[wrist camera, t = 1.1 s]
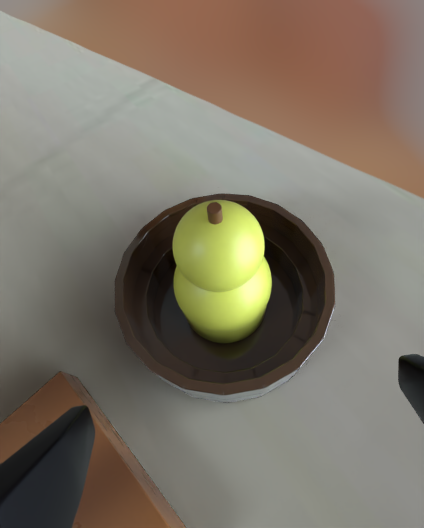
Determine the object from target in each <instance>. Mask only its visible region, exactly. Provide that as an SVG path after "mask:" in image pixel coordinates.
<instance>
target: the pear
mask: <svg viewBox="0 0 424 528" xmlns="http://www.w3.org/2000/svg"><path fill="white" fill-rule="evenodd" d="M264 249H265V245H264V236H263V232H262V229H261V227H260V225H259V223H258V221H257V220H256V218H255V217H254V216H253V215H252V214H251V213H250V212H249V211H248V210H247V209H246V208H244V207H242V206H241V205H239V204H237V203H234V202H231V201H227V200H211V201H206V202H203V203H201V204H198V205H196V206H195V207H193V208H192V209H190V210H189V211H188V212H187V213H186V214H185V215H184V216H183V217H182V219H181V220H180V222H179V223H178V225H177V227H176V230H175V233H174V237H173V255H174V259H175V262H176V265H177V266H176V269H175V273H174V293H175V297H176V300H177V302H178V305H179V307H180V308H181V310H182V311H183V313H184V314H185V317H186V319H187V321H188V323H189V325H190V326H191V328H192V329H193V330H194V331H195V332H196V333H197V334H199V335H200V336H201V337H203V338H205V339H207V340H209V341H212V342H217V343H232V342H237V341H240V340H242V339H244V338H246V337H248V336H249V335H251V334H252V333H253V332H254V331H255V330H256V329H257V328H258V327H259V325H260V324H261V322H262V320H263V318H264V315H265V311H266V306H267V303H268V301H269V298H270V294H271V288H272V277H271V272H270V268H269V265H268V263H267V261H266V259H265V257H264Z"/></svg>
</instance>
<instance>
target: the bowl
mask: <svg viewBox="0 0 424 528" xmlns="http://www.w3.org/2000/svg"><path fill="white" fill-rule="evenodd" d="M211 200H227V201H231V202H234V203H237V204H239V205H241V206H242V207H244V208H246V209H247V210H248V211H249V212H250V213H251V214H252V215H253V216H254V217H255V218H256V220H257V221H258V223H259V225H260V227H261V229H262V232H263V236H264V245H265V249H264V257H265V259H266V261H267V263H268V265H269V268H270V272H271V277H272V288H271V294H270V298H269V301H268V303H267V306H266V311H265V315H264V318H263V320H262V322H261V324H260V325H259V327H258V328H257V329H256V330H255V331H254V332H253V333H252V334H251V335H249V336H248V337H246V338H244V339H242V340H240V341H237V342H232V343H217V342H212V341H209V340H207V339H205V338H203V337H201V336H200V335H199V334H197V333H196V332H195V331H194V330H193V329H192V328H191V326H190V325H189V323H188V321H187V319H186V317H185V314H184V313H183V311H182V310H181V308H180V307H179V305H178V302H177V300H176V297H175V293H174V273H175V269H176V266H177V265H176V262H175V259H174V255H173V237H174V233H175V230H176V227H177V225H178V223H179V222H180V220H181V219H182V217H183V216H184V215H185V214H186V213H187V212H188V211H189V210H190V209H192V208H193V207H195V206H196V205H198V204H201V203H203V202H206V201H211ZM334 308H335V287H334V272H333V270H332V267H331V265H330V262H329V260H328V257H327V255H326V252H325V250H324V247H323V245H322V243H321V242H320V241H319V240H318V238H317V237H316V236H315V235H314V234H313V233H312V231H311V230H310V229H309V228H308V227H307V226H306V224H305V223H304V222H303V221H302V220H300V219H299V218H297V217H296V216H294V215H293V214H291V213H290V212H288V211H287V210H285V209H284V208H282V207H281V206H279V205H277V204H274V203H271V202H268V201H265V200H262V199H259V198H256V197H253V196H249V195H235V194H214V195H209V196H203V197H197V198H192V199H189V200H187V201H185V202H182V203H180V204H178V205H176V206H173V207H171V208H169V209H166V210H165V211H163V212H162V213H161V214H159V215H158V216H157V217H156V218H154V219H153V220H152V221H150V222H149V223H148V224H147V225H145V226H144V227H143V228H142V229H141V230H140V232H139V233H138V234H137V236H136V237H135V238H134V240H133V241H132V243H131V244H130V245H129V247H128V248H127V249H126V251H125V252H124V255H123V258H122V261H121V264H120V267H119V270H118V273H117V275H116V278H115V314H116V317H117V319H118V322H119V325H120V328H121V330H122V333H123V336H124V339H125V341H126V343H127V345H128V346H129V347H130V348H131V349H132V351H133V352H134V353H135V354H136V355H137V356H138V358H139V359H140V360H141V361H142V362H143V363H144V365H145V366H146V367H147V368H148V369H149V370H150V371H151V372H153V373H154V374H155V375H157V376H158V377H160V378H161V379H162V380H164V381H165V382H166V383H168V384H170V385H172V386H174V387H175V388H177V389H179V390H181V391H183V392H184V393H186V394H188V395H190V396H192V397H194V398H198V399H204V400H211V401H217V402H223V403H230V402H236V401H241V400H247V399H252V398H258V397H261V396H263V395H265V394H266V393H268V392H270V391H271V390H273V389H275V388H277V387H278V386H280V385H282V384H283V383H285V382H287V381H288V380H289V379H290V378H291V377H292V376H293V375H294V374H295V373H296V372H297V371H298V370H299V368H300V367H301V366H302V365H303V364H304V363H305V361H306V360H307V359H308V358H309V357H310V355H311V354H312V353H313V352H314V350H315V349H316V348H317V347H318V346H319V344H320V343H321V342H322V341H323V339H324V337H325V334H326V332H327V329H328V326H329V323H330V320H331V317H332V314H333V311H334Z"/></svg>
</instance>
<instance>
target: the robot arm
mask: <svg viewBox="0 0 424 528" xmlns="http://www.w3.org/2000/svg"><path fill="white" fill-rule="evenodd" d="M398 381H399V385H400V388H401V390H402V392H403V393H404V395H405V396H406V398H407V399H408V401H409V402H410V404H411V405H412V407H413V408H414V410H415V411H416V413H417V414H418V416H419V417H420V419H421V420H422V422H423V423H424V357H423V356H420V355H417V354H410V355H404V356H401V357H400V358H399V371H398ZM94 440H95V426H94V423H93V420H92V417H91V413H90V410H89V408H88V406H86V405H81V406H75V407H72V408H70V409H69V410H68V411H66V412H65V413H64V414H63V415H61V416H60V417H59V418H58V419H56V420H55V421H54V422H53V423H51V424H50V425H49V426H48V427H46V428H45V429H44V430H43V431H41V432H40V433H39V434H38V435H36V436H35V437H34V438H33V439H31V440H30V441H29V442H28V443H26V444H25V445H24V446H23V447H21V448H20V449H19V450H18V451H16V452H15V453H14V454H13V455H11V456H10V457H9V458H8V459H6V460H5V461H4V462H3V463H1V464H0V528H72V526H73V523H74V519H75V516H76V513H77V510H78V507H79V504H80V500H81V497H82V493H83V489H84V485H85V481H86V476H87V472H88V467H89V463H90V458H91V453H92V449H93V444H94Z"/></svg>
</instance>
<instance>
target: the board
mask: <svg viewBox="0 0 424 528" xmlns="http://www.w3.org/2000/svg"><path fill="white" fill-rule="evenodd" d="M81 405H86V406H88V408H89V410H90V413H91V417H92V420H93V423H94V426H95V440H94V444H93V449H92V453H91V458H90V463H89V467H88V472H87V476H86V481H85V485H84V489H83V493H82V497H81V500H80V504H79V507H78V510H77V513H76V516H75V519H74V523H73V526H72V528H186V527H185V525H184V524H183V523H182V521H181V520H180V519H179V517H178V516H177V514H176V513H175V512H174V510H173V509H172V507H171V506H170V505H169V503H168V502H167V501H166V499H165V498H164V496H163V495H162V494H161V492H160V491H159V490H158V488H157V487H156V485H155V484H154V483H153V481H152V480H151V479H150V477H149V476H148V474H147V473H146V472H145V470H144V469H143V467H142V466H141V465H140V463H139V462H138V461H137V459H136V458H135V456H134V455H133V454H132V452H131V451H130V450H129V448H128V447H127V445H126V444H125V443H124V441H123V440H122V438H121V437H120V436H119V434H118V433H117V432H116V430H115V429H114V427H113V426H112V425H111V423H110V422H109V421H108V419H107V418H106V416H105V415H104V414H103V412H102V411H101V410H100V408H99V407H98V405H97V404H96V403H95V401H94V400H93V398H92V397H91V396H90V394H89V393H88V392H87V390H86V389H85V387H84V386H83V385H82V383H81V382H80V381H79V379H78V378H77V377H75V376H72V375H69V374H66V373H63V372H61V371H60V372H59V373H58V374H56V375H55V376H54V377H53V378H52V379H51V380H50V381H48V382H47V383H46V384H45V385H44V386H43V387H42V388H40V389H39V390H38V391H37V392H36V393H35V394H34V395H33V396H31V397H30V398H29V399H28V400H27V401H26V402H25V403H23V404H22V405H21V406H20V407H19V408H18V409H17V410H15V411H14V412H13V413H12V414H11V415H10V416H9V417H7V418H6V419H5V420H4V421H3V422H2V423H1V424H0V464H1V463H3V462H4V461H5V460H6V459H8V458H9V457H10V456H11V455H13V454H14V453H15V452H16V451H18V450H19V449H20V448H21V447H23V446H24V445H25V444H26V443H28V442H29V441H30V440H31V439H33V438H34V437H35V436H36V435H38V434H39V433H40V432H41V431H43V430H44V429H45V428H46V427H48V426H49V425H50V424H51V423H53V422H54V421H55V420H56V419H58V418H59V417H60V416H61V415H63V414H64V413H65V412H66V411H68V410H69V409H70V408H72V407H75V406H81Z"/></svg>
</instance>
